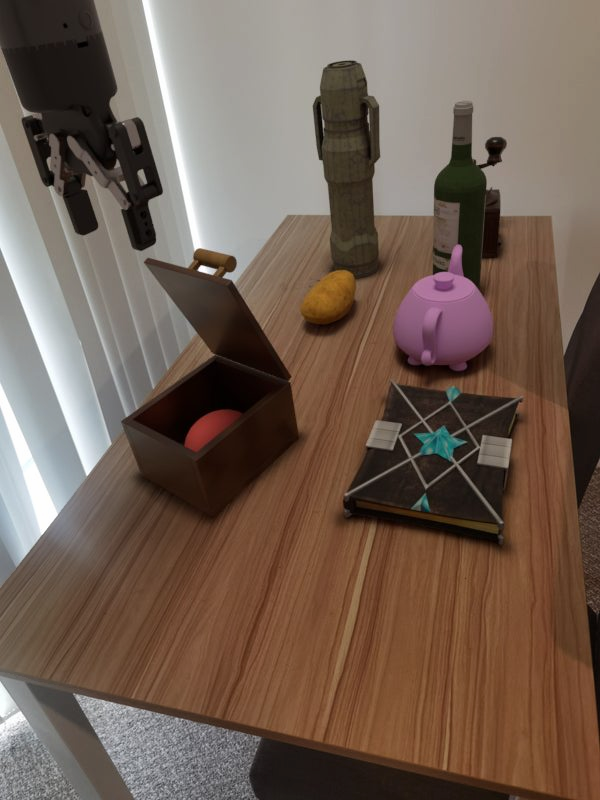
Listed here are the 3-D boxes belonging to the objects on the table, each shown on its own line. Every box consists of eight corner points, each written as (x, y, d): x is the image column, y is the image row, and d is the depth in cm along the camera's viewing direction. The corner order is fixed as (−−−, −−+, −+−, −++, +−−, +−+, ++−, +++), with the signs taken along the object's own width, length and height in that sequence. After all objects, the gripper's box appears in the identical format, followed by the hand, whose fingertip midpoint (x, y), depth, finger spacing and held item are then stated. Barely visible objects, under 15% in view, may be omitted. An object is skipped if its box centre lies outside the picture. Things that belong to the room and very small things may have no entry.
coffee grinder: (501, 258, 111) (510, 158, 101) (440, 258, 114) (442, 161, 103) (499, 225, 123) (507, 132, 112) (444, 226, 126) (447, 136, 115)
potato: (368, 299, 105) (366, 263, 101) (335, 340, 96) (331, 302, 92) (329, 294, 108) (325, 259, 104) (293, 332, 99) (287, 295, 95)
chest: (213, 517, 69) (196, 460, 63) (141, 475, 76) (120, 421, 70) (299, 438, 78) (290, 382, 72) (228, 407, 85) (215, 354, 80)
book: (390, 400, 82) (389, 370, 79) (520, 416, 76) (524, 384, 73) (343, 518, 66) (339, 486, 63) (502, 550, 60) (507, 517, 57)
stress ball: (244, 408, 72) (237, 393, 77) (175, 441, 71) (173, 423, 77) (261, 444, 74) (253, 426, 79) (194, 476, 73) (191, 456, 79)
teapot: (414, 311, 100) (413, 240, 92) (502, 320, 95) (509, 245, 87) (377, 379, 86) (373, 302, 78) (478, 394, 81) (485, 313, 73)
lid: (227, 285, 59) (255, 249, 60) (143, 262, 66) (170, 230, 68) (288, 381, 72) (310, 350, 74) (212, 353, 79) (233, 325, 81)
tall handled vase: (376, 282, 110) (366, 67, 89) (318, 275, 115) (296, 70, 94) (393, 261, 116) (388, 56, 95) (338, 255, 121) (321, 59, 100)
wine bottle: (422, 291, 105) (423, 105, 87) (457, 276, 108) (465, 93, 90) (454, 307, 99) (461, 112, 81) (489, 292, 102) (504, 99, 84)
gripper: (-41, 45, 47) (38, 242, 56) (61, 41, 39) (132, 270, 49) (42, 29, 51) (102, 214, 61) (149, 21, 43) (198, 236, 53)
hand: (115, 239), depth 55 cm, fingers open, 8 cm apart
